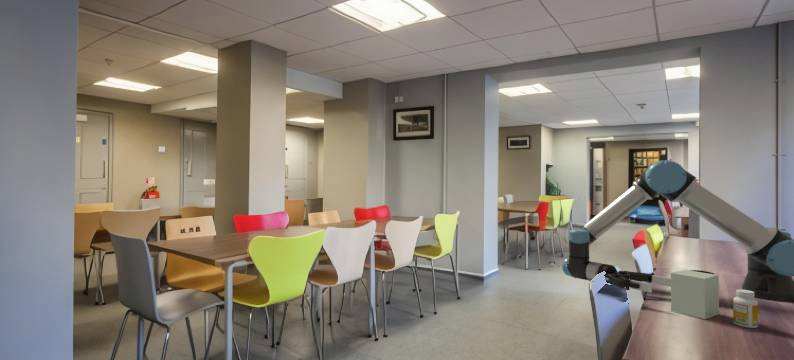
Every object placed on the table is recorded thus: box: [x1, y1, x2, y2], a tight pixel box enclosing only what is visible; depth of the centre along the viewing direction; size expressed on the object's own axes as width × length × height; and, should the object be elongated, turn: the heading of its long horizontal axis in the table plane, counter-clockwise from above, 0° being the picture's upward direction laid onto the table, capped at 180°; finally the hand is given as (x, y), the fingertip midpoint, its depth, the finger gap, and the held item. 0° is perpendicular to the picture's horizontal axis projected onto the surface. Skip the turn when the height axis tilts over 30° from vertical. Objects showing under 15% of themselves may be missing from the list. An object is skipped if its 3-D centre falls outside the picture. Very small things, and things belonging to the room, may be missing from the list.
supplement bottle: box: [732, 288, 759, 329], centre depth 115 cm, size 5×5×10 cm
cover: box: [670, 269, 720, 320], centre depth 126 cm, size 9×9×12 cm
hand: (662, 285), depth 134 cm, fingers open, 13 cm apart
